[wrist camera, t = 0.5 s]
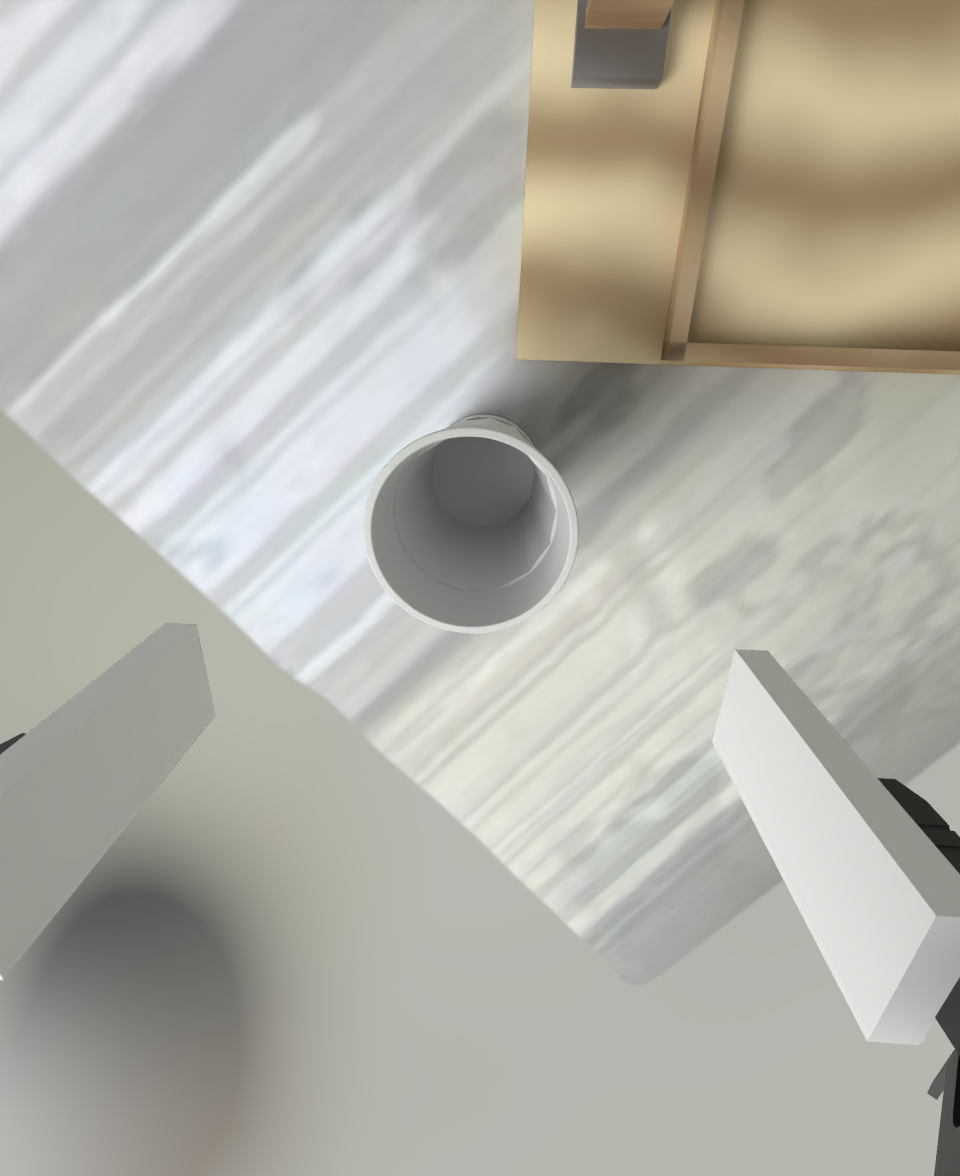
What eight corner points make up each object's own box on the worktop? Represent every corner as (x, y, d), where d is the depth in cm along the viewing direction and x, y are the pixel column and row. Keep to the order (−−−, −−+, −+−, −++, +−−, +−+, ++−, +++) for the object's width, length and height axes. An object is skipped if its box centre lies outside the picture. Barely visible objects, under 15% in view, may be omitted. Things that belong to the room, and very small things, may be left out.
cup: (557, 398, 29) (586, 427, 18) (550, 538, 32) (571, 635, 21) (410, 398, 30) (353, 426, 19) (418, 537, 33) (372, 631, 22)
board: (538, -68, 22) (564, -433, 12) (1124, -64, 21) (1698, -449, 11) (516, 359, 28) (520, 363, 18) (964, 374, 28) (1232, 388, 17)
